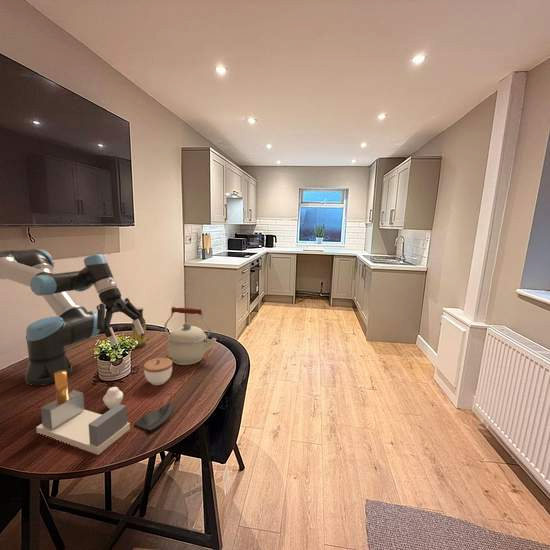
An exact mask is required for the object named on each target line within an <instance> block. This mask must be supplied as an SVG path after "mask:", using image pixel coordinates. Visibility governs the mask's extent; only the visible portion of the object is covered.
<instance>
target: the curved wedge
mask: <svg viewBox="0 0 550 550" xmlns="http://www.w3.org/2000/svg"><path fill="white" fill-rule="evenodd" d="M174 407H175V403H173V402H172V401H171V402H170V401H168V403H167V404H166V405H164V406H162V407H160V408H158V409H155V410H152V411H150V412H148V413H146V414H144V415H142V416H141V418H139V419H138V420H136V421H135V422H134V424H133V426H135V427H136V428H138V429H140V430H143V431H147V432H150V433H151V434H153V433H154V432H155V431H157V430H158V429H159V428H162V426H164V424H166V422H167V421H168V420H169V419H170V418H171V417H172V415H173V413H174V409H175V408H174Z"/></svg>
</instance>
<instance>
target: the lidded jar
mask: <svg viewBox="0 0 550 550" xmlns="http://www.w3.org/2000/svg"><path fill="white" fill-rule="evenodd" d="M173 363H174V362H173V361H172V358H168V357H155V358H152V359H149V360H147V361H145V363H143V371H144V372H143V374H144V376H145V379H146V380H147V382H149V383H150V384H151V385H153V386H160V385H164V384H165V383H166V382H167V381H168V380H169V379H170V377H171V376H172V373H173Z"/></svg>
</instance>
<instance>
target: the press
mask: <svg viewBox="0 0 550 550" xmlns="http://www.w3.org/2000/svg"><path fill="white" fill-rule="evenodd" d="M35 428H36V434H38V433H40V434H39V435H41V434H43V435H42V436H44V435H46V436H45V437H47V436H49V437H52V438H54V439H53V440H55V439H56V440H55V441H58V440H59V441H58V442H61V441H62V442H61V443H63V442H64V444H66V443H67V445H69V444H70V446H73V447H75V448H77V447H78V448H77V449H80V450H83V451H86V452H89V453H90V454H91V453H92V454H94V455H97V456H98V455H101V454H102V453H103V452H104V451H105V450H106V449H108V448H109V447H110V446H111V445H113V444H114V443H115V442H116V441H117V440H119V439H120V438H122V436H124V435H125V434H126V433H127V432H128V431H130V430H131V423H130V422H128V413H127V405H124V404H121V403H120V404H117V405H116V406H115V407H113V408H112V409H108V410H107V411H106V412H104V413H103V414H101V413H97V412H94V411H91V410H87V409H84V410H83V411H82V412H80V413H78V414H77V415H75V416H74V417H72V418H70V419H69V420H67V421H65V422H64V423H62V424H61V425H59V426H57V427H56V428H54V429H53V430H52V429H49V428H46V427H43V425H42V423H41V424H39V425H38V426H36V427H35ZM49 437H48V438H49ZM52 438H51V439H52Z"/></svg>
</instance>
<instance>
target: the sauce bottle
mask: <svg viewBox="0 0 550 550" xmlns="http://www.w3.org/2000/svg"><path fill="white" fill-rule="evenodd" d="M135 308H136V309H137V310H138V311H139V312H140V313H141V314H142V316H141V317H140V318H139V319H140V322H141V324H142V328H143V331H144V333H143V334H141V335H138V333H137V331H136V328H135V326H134V324H133V322H132V325H131V328H132V330H131V331H132V338H133V337H134V338H135V339H136V340H137V341H138V345H137V347H136V348H142V347H144V346H145V347H146V345H147V344H146V343H147V334H146V333H147V330H146V329H147V328H146V327H147V323H146V319H145V318H144V315H143V314H144V313H143V311H144V308H143V307H135ZM137 315H138V314H137ZM132 321H134V320H133V319H132Z"/></svg>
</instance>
